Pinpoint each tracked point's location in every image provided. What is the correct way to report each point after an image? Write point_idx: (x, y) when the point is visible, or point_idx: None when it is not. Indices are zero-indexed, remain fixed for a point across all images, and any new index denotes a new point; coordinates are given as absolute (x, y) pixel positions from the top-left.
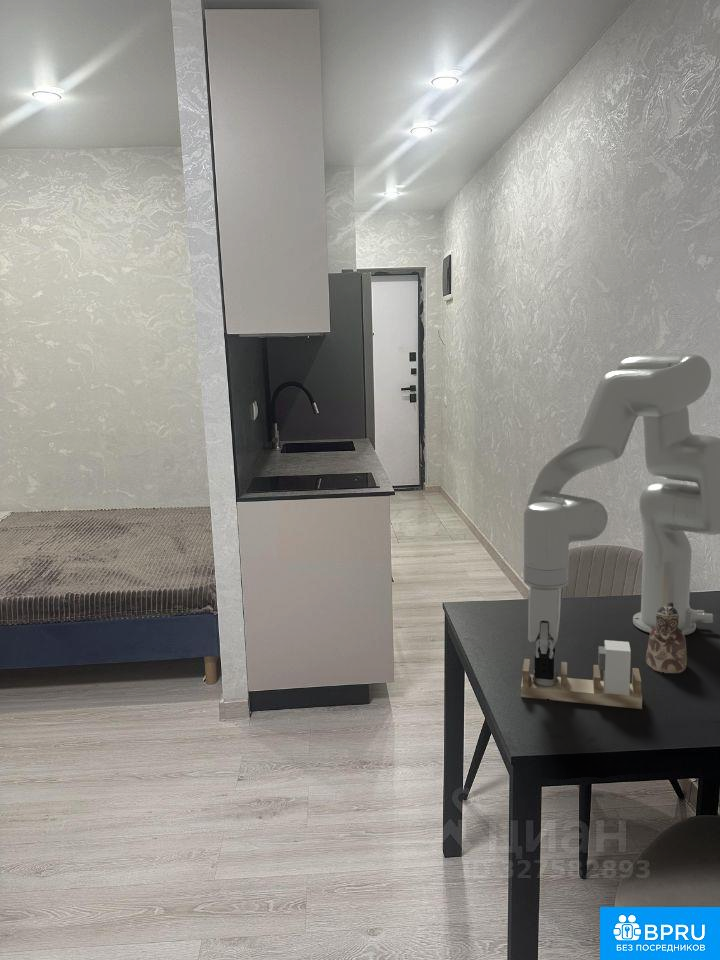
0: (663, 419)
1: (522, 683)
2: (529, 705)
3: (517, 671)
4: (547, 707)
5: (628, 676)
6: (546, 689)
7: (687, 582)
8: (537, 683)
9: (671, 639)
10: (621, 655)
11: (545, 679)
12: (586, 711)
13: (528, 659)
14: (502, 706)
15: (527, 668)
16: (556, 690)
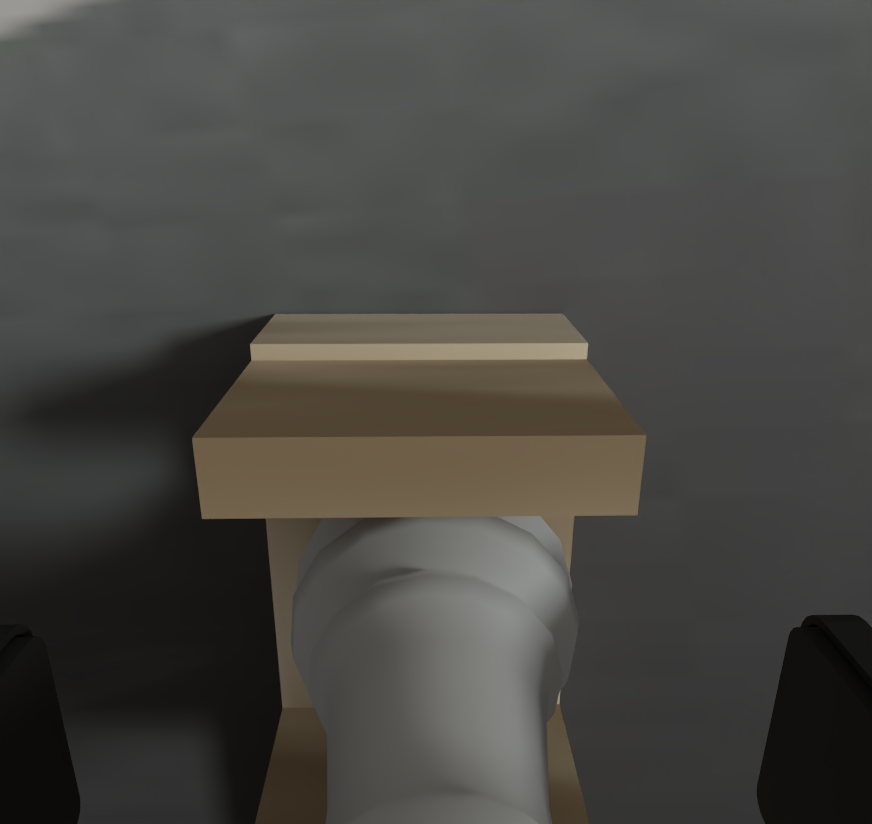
0: None
1: (332, 354)
2: (133, 400)
3: (857, 236)
4: (153, 546)
5: None
6: (274, 590)
7: None
8: (325, 521)
9: None
10: None
11: (291, 641)
12: (191, 792)
13: (622, 496)
14: (7, 133)
15: (297, 500)
16: (280, 671)
